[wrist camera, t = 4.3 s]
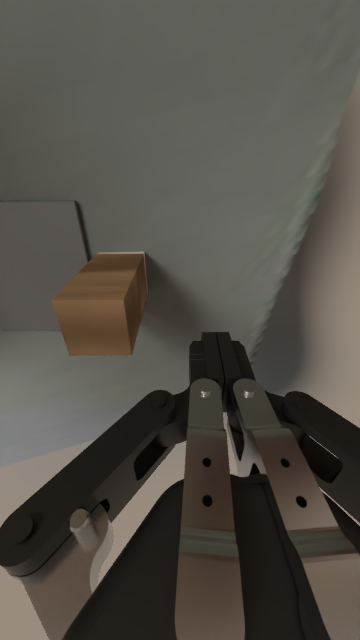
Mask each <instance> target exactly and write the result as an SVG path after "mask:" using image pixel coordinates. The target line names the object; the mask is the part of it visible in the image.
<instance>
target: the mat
mask: <svg viewBox="0 0 360 640" xmlns="http://www.w3.org/2000/svg"><path fill="white" fill-rule="evenodd" d="M88 262H89V258H88V254H87V249H86V245H85V240H84V235H83V231H82V226H81V222H80V217H79V213H78V208H77V203H76V201H0V330H61V328H60V325H59V322H58V319H57V316H56V313H55V310H54V307H53V304H52V301H51V300H52V299H53V298H54V297H55V296H56V295H57V294H58V293H59V292H60V291H61V290H62V289H63V288H64V287H65V286H66V285H67V284H68V283H69V282H70V281H71V280H72V278H73V277H74V276H75V275H76V274H77V273H78V272H79V271H80V270H81V269H82V268H83V267H84V266H85V265H86V264H87V263H88Z"/></svg>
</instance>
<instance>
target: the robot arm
mask: <svg viewBox="0 0 360 640" xmlns="http://www.w3.org/2000/svg"><path fill="white" fill-rule="evenodd" d="M189 378H190V386H189V387H188V388H187V389H186V390H185V391H184V392H182V393H179V394H176V395H172V394H171V393H169V392H168V391H164V390H156V391H153V392H151V393H149V394H148V395H147V396H145V397H144V398H143V399H142V400H141V401H140V402H139V403H137V404H136V405H135V406H134V407H133V408H132V409H131V410H129V411H128V412H127V413H126V414H125V415H124V416H123V417H121V418H120V419H119V420H118V421H117V422H116V423H115V424H113V425H112V426H111V427H110V428H109V429H108V430H107V431H105V432H104V433H103V434H102V435H101V436H100V437H99V438H97V439H96V440H95V441H94V442H93V443H92V444H91V445H90V446H88V447H87V448H86V449H85V450H84V451H83V452H81V453H80V454H79V455H78V456H77V457H76V458H75V459H74V460H72V461H71V462H70V463H69V464H68V465H67V466H66V467H64V468H63V469H62V470H61V471H60V472H59V473H58V474H56V475H55V476H54V477H53V478H52V479H51V480H50V481H48V482H47V483H46V484H45V485H44V486H43V487H42V488H40V489H39V490H38V491H37V492H36V493H35V494H34V495H32V496H31V497H30V498H29V499H28V500H27V501H26V502H25V503H24V504H22V505H21V506H20V507H19V508H18V509H16V510H15V511H14V512H13V513H12V514H11V515H10V516H9V517H8V518H7V519H6V520H5V522H4V523H3V525H2V526H1V528H0V565H1V566H2V567H4V568H5V569H6V570H7V572H8V573H9V574H10V575H11V576H12V577H14V578H15V579H16V580H18V581H19V582H21V583H22V584H23V585H24V587H25V589H26V591H27V594H28V596H29V598H30V600H31V602H32V604H33V606H34V608H35V610H36V612H37V615H38V617H39V619H40V621H41V623H42V625H43V627H44V629H45V631H46V634H47V636H48V638H49V640H360V526H359V525H358V524H357V523H356V522H355V521H354V520H352V518H350V517H349V516H348V515H347V514H346V513H345V512H344V511H343V510H342V509H341V508H340V507H339V506H338V505H337V504H336V503H334V502H333V501H332V500H331V499H330V498H329V497H328V496H327V495H325V494H324V493H323V492H321V490H320V488H321V489H322V490H323V491H325V492H326V493H327V494H328V495H329V496H330V497H331V498H332V499H334V500H335V501H336V502H337V503H338V504H339V505H340V506H341V507H343V508H344V509H345V510H346V511H347V512H348V513H349V514H350V515H351V516H353V517H354V518H355V519H356V520H357V521H358V522H359V523H360V428H359V427H357V426H356V425H354V424H352V423H351V422H349V421H348V420H346V419H345V418H343V417H342V416H340V415H339V414H337V413H336V412H334V411H333V410H331V409H329V408H328V407H326V406H325V405H323V404H322V403H320V402H319V401H317V400H316V399H314V398H313V397H311V396H309V395H308V394H305V393H303V392H298V391H292V392H289V393H287V394H286V396H285V397H282V396H278V395H275V394H271V393H268V392H266V391H265V390H264V389H263V387H262V386H261V385H260V384H259V383H258V382H256V380H255V377H254V374H253V371H252V368H251V366H250V363H249V360H248V357H247V355H246V351H245V348H244V346H243V345H242V344H241V343H240V342H239V341H231V338H230V334H229V332H202V337H201V341H193V342H192V344H191V345H190V350H189ZM223 412H227V416H228V422H227V428H228V432H229V437H230V440H231V444H232V448H233V452H234V456H235V460H236V464H237V472H238V476H235V475H232V474H230V468H229V456H228V445H227V434H226V430H225V429H224V424H223ZM309 436H311V437H312V438H313V439H314V440H316V441H317V442H318V443H320V444H321V445H322V446H323V447H325V448H326V449H327V450H329V451H330V452H331V453H333V454H334V455H335V456H336V457H338V458H339V459H338V458H336V457H335V456H334V455H333V454H331V453H330V452H329V451H327V450H326V449H325V448H323V447H322V446H321V445H320V444H318V443H317V442H316V441H314V440H313V439H312V438H310V437H309ZM186 440H187V441H186ZM183 441H186V457H185V473H184V479H183V480H180V481H178V482H176V483H175V484H173V485H172V486H170V487H169V488H168V489H167V490H166V491H165V492H164V493H163V494H162V495H161V496H160V498H159V499H158V500H157V502H156V503H155V505H154V506H153V507H152V509H151V510H150V512H149V513H148V515H147V516H146V517H145V519H144V520H143V522H142V523H141V525H140V526H139V527H138V529H137V530H136V532H135V533H134V535H133V536H132V538H131V539H130V540H129V542H128V543H127V545H126V547H125V548H124V549H123V550H122V552H121V553H120V555H119V556H118V558H117V559H116V561H115V562H114V563H113V565H112V566H111V568H110V569H109V571H108V572H107V573H106V575H105V576H104V578H103V579H102V581H101V582H100V583H99V585H98V586H97V581H98V576H99V572H100V569H101V566H102V564H103V562H104V561H105V559H106V557H107V556H108V554H109V552H110V550H111V547H112V543H113V536H114V535H113V528H112V525H111V522H112V521H113V520H114V519H115V518H116V516H117V515H118V514H119V513H120V512H121V511H122V509H123V508H124V507H125V506H126V504H127V503H128V502H129V501H130V500H131V499H132V497H133V496H134V495H135V494H136V492H137V491H138V490H139V489H140V488H141V486H142V485H143V484H144V483H145V482H146V480H147V479H148V478H149V477H150V476H151V474H152V473H153V472H154V471H155V470H156V468H157V467H158V466H159V465H160V464H161V462H162V461H163V460H164V459H165V458H166V456H167V455H168V454H169V453H170V452H171V450H172V449H173V448H174V446H175V444H178V443H181V442H183ZM319 487H320V488H319Z"/></svg>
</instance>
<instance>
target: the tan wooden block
mask: <svg viewBox="0 0 360 640" xmlns="http://www.w3.org/2000/svg"><path fill="white" fill-rule="evenodd" d="M147 295H148V286H147V275H146V264H145V252H144V251H142V252H98V253H97V254H96V255H95V256H94V257H93V258H92V259H91V260H90V261H89V262H88V263H87V264H86V265H85V266H84V267H83V268H82V269H81V270H80V271H79V272H78V273H77V274H76V275H75V276H74V277H73V278H72V280H71V281H70V282H69V283H68V284H67V285H66V286H65V287H64V288H63V289H62V290H61V291H60V292H59V293H58V294H57V295H56V296H55V297H54V298H53V299H52V300H51V301H52V304H53V307H54V310H55V313H56V316H57V319H58V322H59V325H60V328H61V331H62V334H63V337H64V340H65V343H66V346H67V349H68V352H69V355H132V352H133V349H134V345H135V341H136V337H137V333H138V330H139V326H140V322H141V318H142V314H143V311H144V307H145V303H146V299H147Z"/></svg>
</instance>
